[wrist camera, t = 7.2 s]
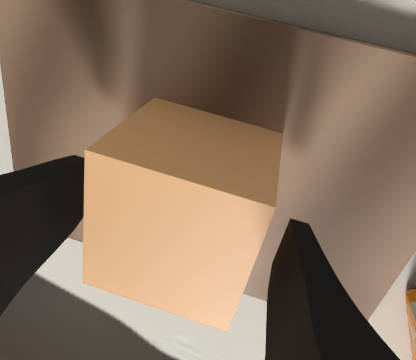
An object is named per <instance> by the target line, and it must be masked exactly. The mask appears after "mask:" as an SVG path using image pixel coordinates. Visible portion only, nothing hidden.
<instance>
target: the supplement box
mask: <svg viewBox="0 0 416 360" xmlns="http://www.w3.org/2000/svg"><path fill="white" fill-rule="evenodd" d="M406 304H407V314H408V322H409V330H410V338H411V346H412V354H413V360H416V289H410V290H407V292H406Z"/></svg>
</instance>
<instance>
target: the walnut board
mask: <svg viewBox="0 0 416 360" xmlns="http://www.w3.org/2000/svg"><path fill="white" fill-rule="evenodd" d="M0 64H1V72H2V80H3V88H4V96H5V104H6V112H7V120H8V128H9V136H10V144H11V152H12V160H13V168H14V171H17V170H21V169H24V168H28V167H31V166H35V165H38V164H41V163H45V162H48V161H52V160H55V159H59V158H62V157H66V156H71V155H77V156H80V157H84V158H85V149H86V148H88V147H89V146H90V145H92V144H93V143H94V142H96V141H97V140H98V139H100V138H101V137H102V136H104V135H105V134H106V133H108V132H109V131H111V130H112V129H113V128H115V127H116V126H117V125H119V124H120V123H121V122H123V121H124V120H125V119H127V118H128V117H129V116H131V115H132V114H133V113H135V112H136V111H137V110H139V109H140V108H141V107H143V106H144V105H145V104H147V103H148V102H149V101H151V100H152V99H153V98H159V99H163V100H166V101H170V102H173V103H177V104H180V105H184V106H187V107H191V108H194V109H198V110H202V111H205V112H209V113H212V114H216V115H219V116H223V117H226V118H230V119H233V120H237V121H241V122H244V123H248V124H251V125H255V126H258V127H262V128H265V129H269V130H272V131H276V132H280V133H283V140H282V151H281V161H280V171H279V182H278V192H277V202H276V209H275V211H274V214H273V217H272V219H271V222H270V224H269V227H268V230H267V232H266V235H265V237H264V240H263V243H262V245H261V248H260V250H259V253H258V256H257V258H256V261H255V263H254V266H253V268H252V271H251V274H250V276H249V279H248V281H247V284H246V287H245V289H244V292H243V294H246V295H249V296H252V297H256V298H259V299H262V300H265V301H267V294H268V285H269V278H270V272H271V266H272V262H273V260H274V257H275V255H276V252H277V250H278V247H279V245H280V242H281V240H282V237H283V235H284V232H285V230H286V228H287V225H288V223H289V220H290V218H291V219H295V220H298V221H302V222H305V223H309V225H310V227H311V229H312V230H313V232H314V234H315V236H316V238H317V240H318V242H319V244H320V246H321V248H322V250H323V252H324V254H325V256H326V258H327V260H328V261H329V263H330V265H331V267H332V269H333V270H334V272H335V274H336V276H337V277H338V279H339V281H340V282H341V284H342V285H343V287H344V288H345V290H346V291H347V293H348V294H349V296H350V298H351V299H352V301H353V302H354V303H355V305H356V306H357V308H358V309H359V310H360V312H361V313H362V314H363V316H364V317H365V318H366V320H368V319H369V318H370V316H371V315H372V313H373V312H374V310H375V309H376V307H377V306H378V305H379V303H380V302H381V300H382V299H383V297H384V296H385V295H386V293H387V292H388V290H389V289H390V287H391V286H392V284H393V283H394V282H395V280H396V279H397V277H398V276H399V274H400V273H401V271H402V270H403V269H404V267H405V266H406V264H407V263H408V261H409V260H410V258H411V257H412V256H413V254H414V253H415V251H416V54H413V53H409V52H404V51H400V50H396V49H392V48H387V47H383V46H379V45H375V44H371V43H366V42H362V41H358V40H354V39H349V38H345V37H341V36H337V35H333V34H328V33H324V32H320V31H316V30H311V29H307V28H303V27H299V26H295V25H290V24H286V23H282V22H278V21H273V20H269V19H265V18H261V17H256V16H252V15H248V14H244V13H240V12H235V11H231V10H227V9H223V8H218V7H214V6H210V5H206V4H202V3H197V2H193V1H189V0H0ZM83 226H84V217H83V219H82V220H81V221H80V223H79V224H78V226H77V227H76V228H75V230H74V231H73V232H72V233H71V234H70V235H69V236H68V238H71V239H74V240H77V241H80V242H83Z"/></svg>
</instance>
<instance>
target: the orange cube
mask: <svg viewBox="0 0 416 360" xmlns="http://www.w3.org/2000/svg"><path fill="white" fill-rule="evenodd" d="M282 140H283V133H280V132H276V131H272V130H269V129H265V128H262V127H258V126H255V125H251V124H248V123H244V122H241V121H237V120H233V119H230V118H226V117H223V116H219V115H216V114H212V113H209V112H205V111H202V110H198V109H194V108H191V107H187V106H184V105H180V104H177V103H173V102H170V101H166V100H163V99H159V98H153V99H152V100H151V101H149V102H148V103H147V104H145V105H144V106H143V107H141V108H140V109H139V110H137V111H136V112H135V113H133V114H132V115H131V116H129V117H128V118H127V119H125V120H124V121H123V122H121V123H120V124H119V125H117V126H116V127H115V128H113V129H112V130H111V131H109V132H108V133H106V134H105V135H104V136H102V137H101V138H100V139H98V140H97V141H96V142H94V143H93V144H92V145H90V146H89V147H88V148H86V149H85V162H84V226H83V283H85V284H88V285H91V286H93V287H96V288H99V289H102V290H105V291H108V292H111V293H114V294H117V295H120V296H123V297H126V298H129V299H131V300H134V301H137V302H140V303H143V304H146V305H149V306H152V307H155V308H158V309H161V310H164V311H167V312H169V313H172V314H175V315H178V316H181V317H184V318H187V319H190V320H193V321H196V322H199V323H202V324H205V325H208V326H210V327H213V328H216V329H219V330H222V331H225V332H228V331H229V328H230V325H231V323H232V320H233V318H234V315H235V313H236V310H237V307H238V305H239V302H240V300H241V297H242V294H243V292H244V289H245V287H246V284H247V281H248V279H249V276H250V274H251V271H252V268H253V266H254V263H255V261H256V258H257V256H258V253H259V250H260V248H261V245H262V243H263V240H264V237H265V235H266V232H267V230H268V227H269V224H270V222H271V219H272V217H273V214H274V211H275V209H276V202H277V192H278V182H279V171H280V161H281V151H282Z"/></svg>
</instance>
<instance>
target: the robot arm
mask: <svg viewBox="0 0 416 360" xmlns="http://www.w3.org/2000/svg"><path fill="white" fill-rule="evenodd" d="M84 162H85V158H84V157H80V156H77V155H71V156H66V157H62V158H59V159H55V160H52V161H48V162H45V163H41V164H38V165H35V166H31V167H28V168H24V169H21V170H17V171H14V172H10V173H6V174H2V175H0V315H1V314H2V313H3V311H4V310H5V309H6V308H7V306H8V305H9V304H10V302H11V301H12V300H13V298H14V297H15V296H16V294H17V293H18V292H19V290H20V289H21V288H22V287H23V285H24V284H25V283H26V282H27V280H29V278H30V277H31V276H32V275H33V274H34V273H35V272H36V271H37V270H38V269H39V268H40V267H41V265H42V264H43V263H44V262H45V261H46V260H47V259H48V258H49V257H50V256H51V255H52V254H53V253H54V252H55V250H56V249H57V248H58V247H59V246H60V245H61V244H62V243H63V242H64V241H65V240H66V239H67V238H68V236H69V235H70V234H71V233H72V232H73V231H74V230H75V228H76V227H77V226H78V224H79V223H80V221H81V220H82V219H83V217H84ZM265 360H400V359H399V358H398V357H397V356H396V355H395V353H394V352H393V351H392V350H391V349H390V348H389V347H388V345H387V344H386V343H385V342H384V341H383V340H382V338H381V337H380V336H379V335H378V334H377V332H376V331H375V330H374V329H373V327H372V326H371V325H370V324H369V322H368V321H367V320H366V318H365V317H364V316H363V314H362V313H361V312H360V310H359V309H358V308H357V306H356V305H355V303H354V302H353V301H352V299H351V298H350V296H349V294H348V293H347V291H346V290H345V288H344V287H343V285H342V284H341V282H340V281H339V279H338V277H337V276H336V274H335V272H334V270H333V269H332V267H331V265H330V263H329V261H328V260H327V258H326V256H325V254H324V252H323V250H322V248H321V246H320V244H319V242H318V240H317V238H316V236H315V234H314V232H313V230H312V229H311V227H310V225H309V223H305V222H302V221H298V220H295V219H291V218H290V220H289V223H288V225H287V228H286V230H285V232H284V235H283V237H282V240H281V242H280V245H279V247H278V250H277V252H276V255H275V257H274V260H273V262H272V266H271V272H270V278H269V285H268V294H267V322H266V354H265Z"/></svg>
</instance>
